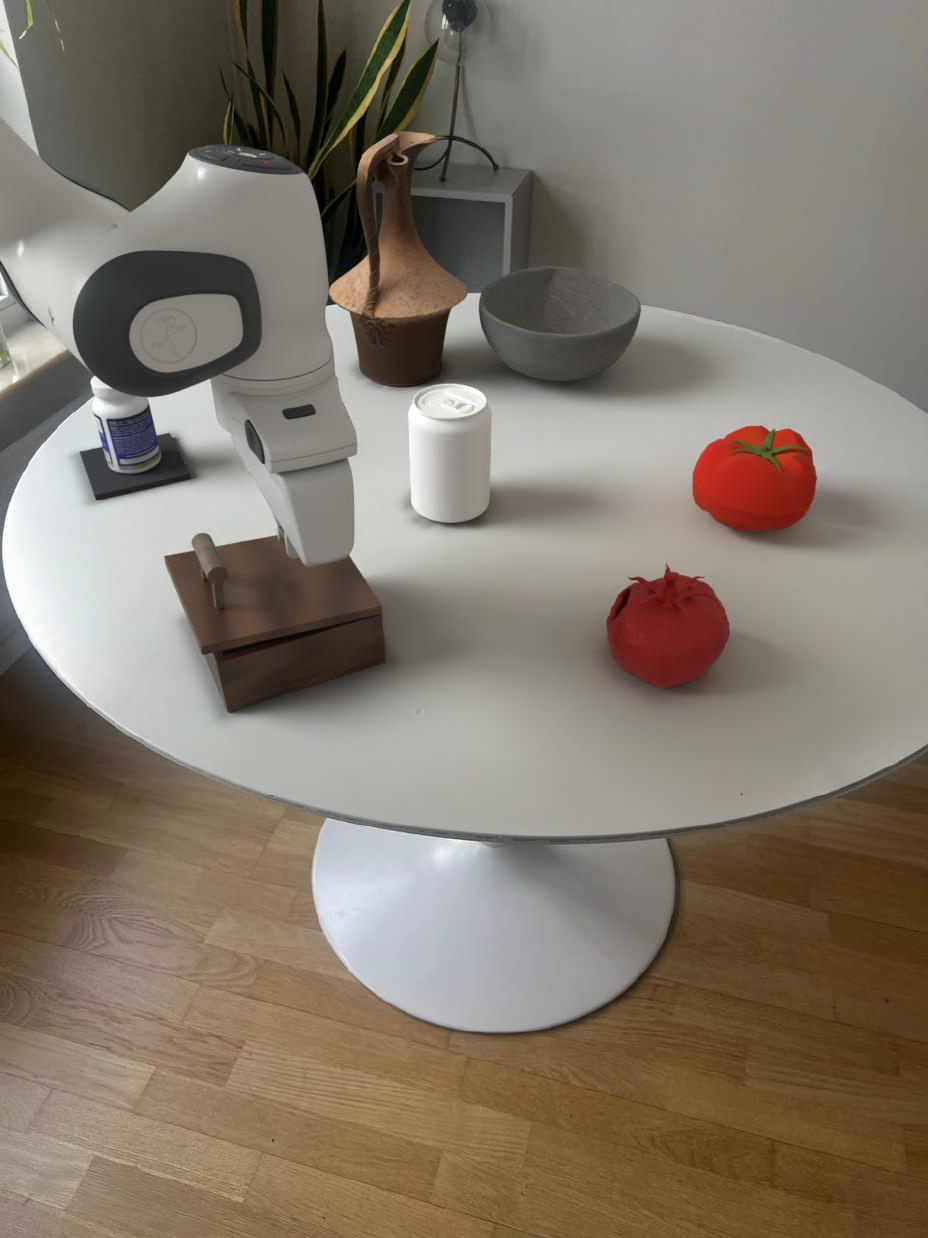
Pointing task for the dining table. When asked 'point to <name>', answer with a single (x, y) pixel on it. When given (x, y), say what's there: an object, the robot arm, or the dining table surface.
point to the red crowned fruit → (667, 629)
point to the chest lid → (263, 592)
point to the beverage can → (450, 452)
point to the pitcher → (396, 274)
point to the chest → (296, 661)
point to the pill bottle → (125, 429)
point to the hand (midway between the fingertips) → (294, 547)
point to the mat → (116, 483)
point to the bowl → (558, 322)
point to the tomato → (756, 479)
